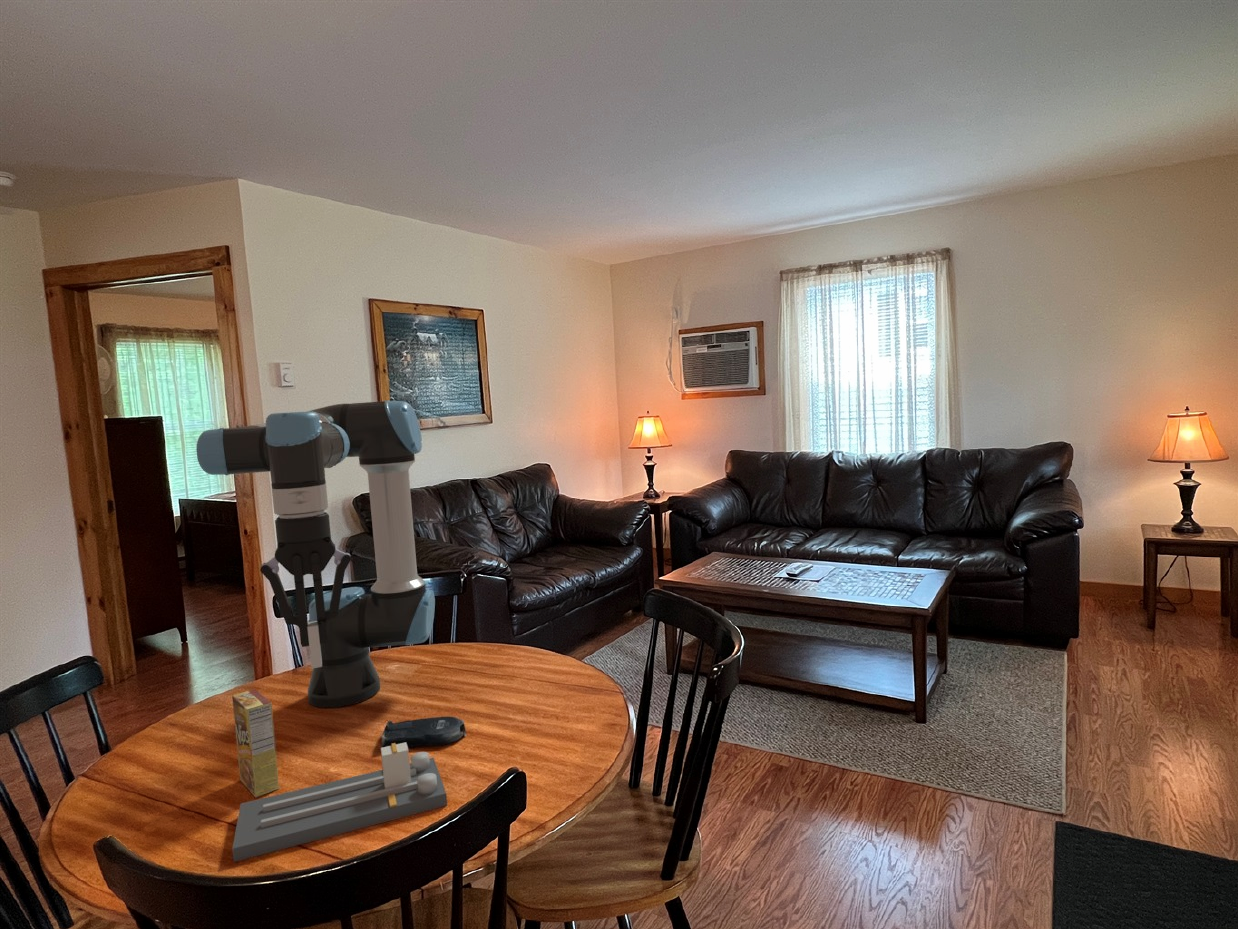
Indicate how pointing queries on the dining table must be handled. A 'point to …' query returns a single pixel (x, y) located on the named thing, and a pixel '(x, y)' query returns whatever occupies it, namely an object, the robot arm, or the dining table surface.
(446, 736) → the electronic device
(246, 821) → the console board
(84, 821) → the dining table surface
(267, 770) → the candy box
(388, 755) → the fader tab
